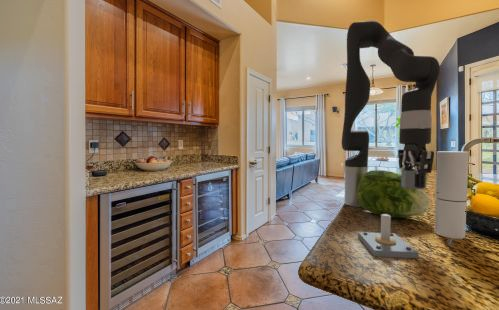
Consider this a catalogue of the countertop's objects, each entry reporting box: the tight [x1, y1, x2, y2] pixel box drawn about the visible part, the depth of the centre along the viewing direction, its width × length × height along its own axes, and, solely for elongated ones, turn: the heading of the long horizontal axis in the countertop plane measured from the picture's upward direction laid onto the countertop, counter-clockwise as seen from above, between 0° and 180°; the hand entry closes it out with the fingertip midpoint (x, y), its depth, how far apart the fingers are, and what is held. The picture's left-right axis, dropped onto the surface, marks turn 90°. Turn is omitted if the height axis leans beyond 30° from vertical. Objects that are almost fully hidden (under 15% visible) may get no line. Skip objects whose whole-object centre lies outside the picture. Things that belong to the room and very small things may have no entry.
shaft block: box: [357, 214, 419, 259], centre depth 64 cm, size 12×10×8 cm
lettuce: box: [357, 169, 430, 219], centre depth 90 cm, size 17×23×17 cm
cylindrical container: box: [434, 150, 470, 240], centre depth 72 cm, size 7×7×25 cm
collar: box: [400, 168, 427, 190], centre depth 70 cm, size 6×6×5 cm
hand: (413, 185), depth 70 cm, fingers closed on collar, 5 cm apart
